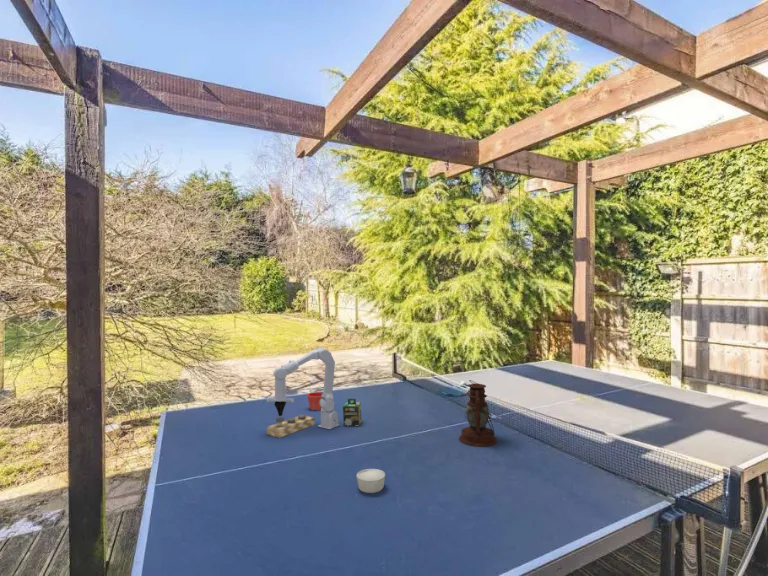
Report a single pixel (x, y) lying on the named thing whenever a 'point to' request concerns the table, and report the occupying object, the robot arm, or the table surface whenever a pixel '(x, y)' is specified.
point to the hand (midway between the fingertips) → (280, 415)
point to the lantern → (477, 419)
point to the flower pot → (314, 400)
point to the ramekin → (370, 480)
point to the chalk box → (352, 413)
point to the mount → (290, 427)
